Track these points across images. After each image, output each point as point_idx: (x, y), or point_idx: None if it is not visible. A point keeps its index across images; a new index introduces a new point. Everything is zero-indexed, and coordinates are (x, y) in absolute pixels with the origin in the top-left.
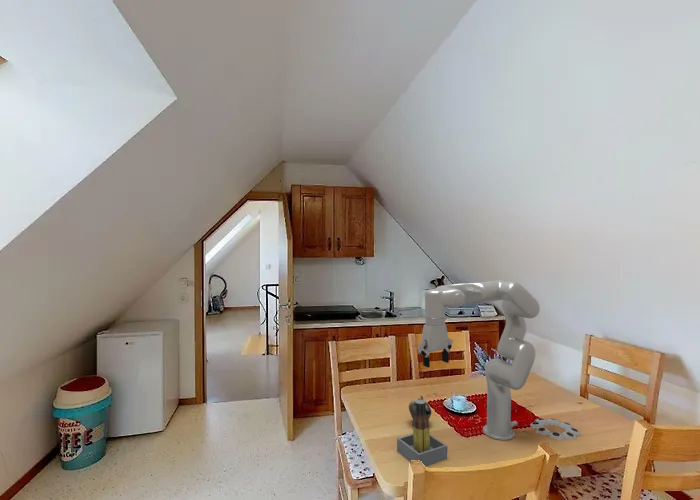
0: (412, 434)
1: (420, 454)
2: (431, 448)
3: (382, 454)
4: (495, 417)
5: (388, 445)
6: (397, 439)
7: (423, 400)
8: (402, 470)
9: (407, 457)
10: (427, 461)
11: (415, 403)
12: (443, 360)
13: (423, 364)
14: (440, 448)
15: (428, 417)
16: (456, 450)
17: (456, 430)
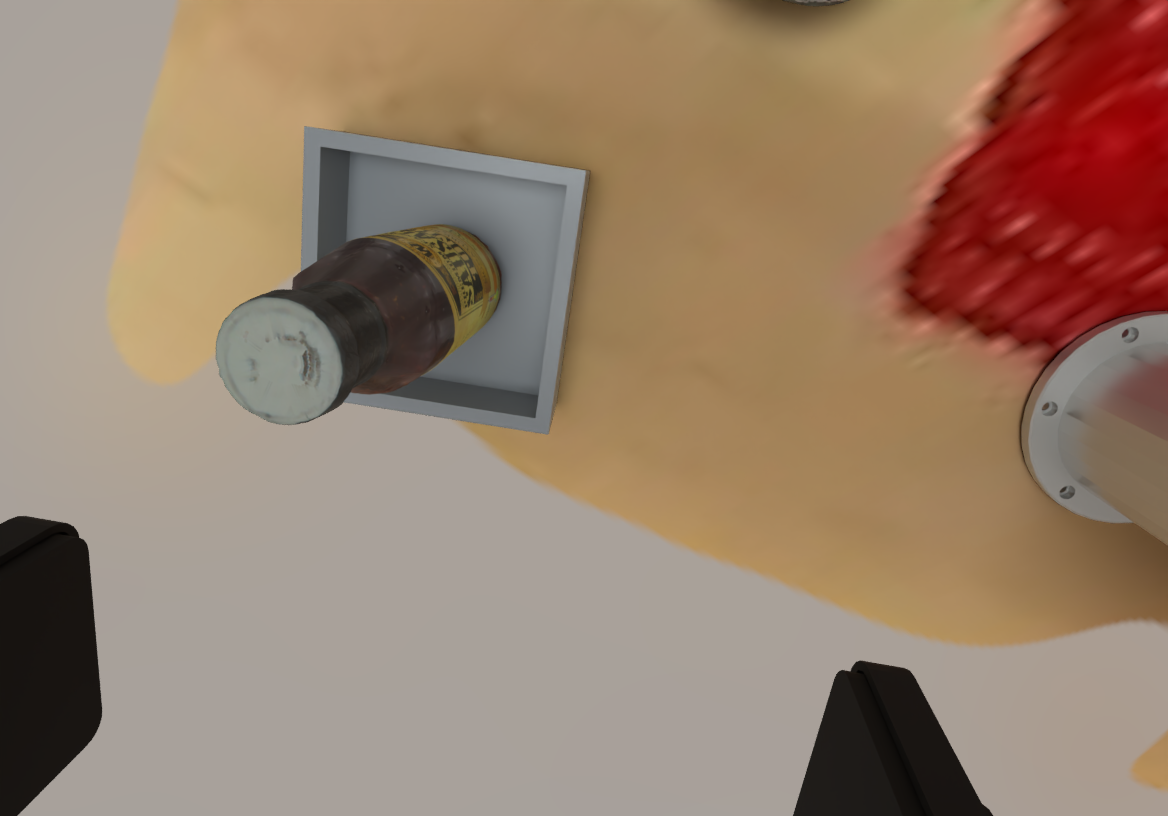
0: (453, 158)
1: None
2: (542, 286)
3: (226, 102)
4: (1146, 501)
5: (335, 28)
6: (306, 133)
7: (330, 369)
8: None
9: None
10: None
11: (224, 332)
12: (830, 743)
13: (3, 542)
14: (486, 423)
15: (817, 5)
16: (685, 379)
17: (945, 194)
